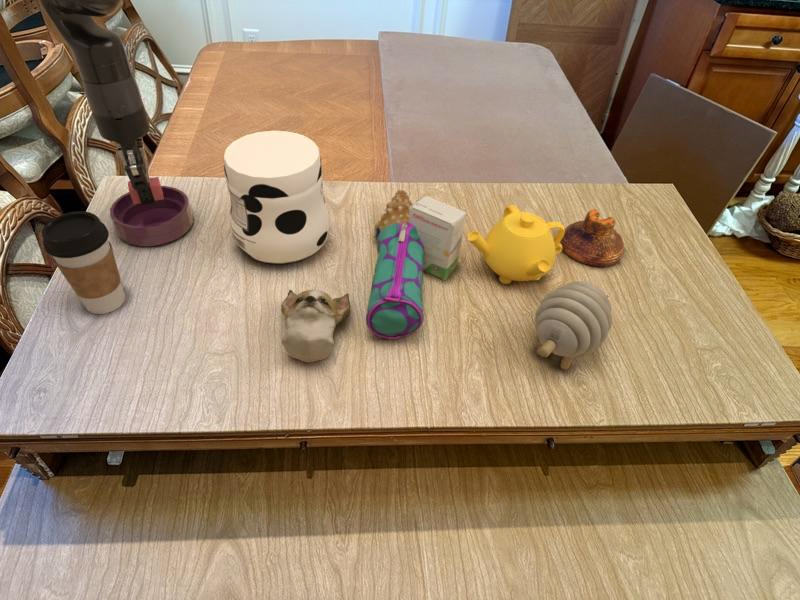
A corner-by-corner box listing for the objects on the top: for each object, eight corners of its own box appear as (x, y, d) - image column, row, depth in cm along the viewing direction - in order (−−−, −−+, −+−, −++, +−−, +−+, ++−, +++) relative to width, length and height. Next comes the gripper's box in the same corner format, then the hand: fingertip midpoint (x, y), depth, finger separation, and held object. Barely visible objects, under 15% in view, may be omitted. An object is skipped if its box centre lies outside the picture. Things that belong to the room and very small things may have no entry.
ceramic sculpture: (262, 328, 71) (283, 261, 82) (268, 372, 77) (287, 303, 88) (343, 333, 71) (352, 265, 83) (343, 376, 77) (352, 307, 88)
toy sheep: (612, 331, 86) (636, 280, 79) (572, 401, 76) (596, 350, 68) (551, 303, 90) (568, 251, 83) (505, 366, 80) (521, 314, 72)
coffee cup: (77, 326, 82) (35, 248, 71) (75, 290, 87) (36, 213, 76) (136, 311, 84) (104, 235, 74) (131, 278, 90) (101, 202, 79)
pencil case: (375, 256, 97) (376, 212, 90) (423, 259, 97) (428, 215, 90) (363, 343, 82) (364, 298, 75) (421, 347, 82) (427, 302, 75)
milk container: (341, 221, 104) (338, 134, 91) (315, 279, 92) (308, 189, 79) (255, 208, 106) (241, 121, 93) (218, 264, 93) (196, 173, 81)
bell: (546, 236, 104) (556, 204, 99) (596, 224, 108) (608, 193, 102) (583, 274, 96) (596, 242, 91) (636, 259, 100) (650, 227, 95)
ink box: (403, 262, 96) (407, 206, 88) (418, 247, 99) (423, 193, 91) (444, 281, 93) (453, 225, 85) (459, 265, 96) (468, 210, 88)
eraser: (133, 204, 94) (128, 189, 92) (132, 195, 96) (127, 181, 94) (163, 199, 96) (159, 185, 94) (162, 191, 98) (158, 176, 95)
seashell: (369, 237, 106) (376, 186, 103) (409, 242, 108) (416, 191, 105) (375, 246, 97) (383, 190, 95) (419, 251, 99) (427, 196, 96)
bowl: (119, 254, 94) (111, 234, 91) (116, 212, 102) (109, 192, 99) (198, 239, 98) (192, 219, 95) (189, 200, 106) (183, 180, 103)
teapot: (459, 273, 95) (468, 222, 87) (493, 235, 103) (504, 185, 95) (535, 308, 89) (552, 256, 82) (564, 265, 98) (582, 214, 90)
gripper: (90, 88, 87) (123, 180, 99) (90, 127, 78) (126, 224, 90) (139, 83, 89) (166, 174, 101) (145, 120, 80) (173, 216, 92)
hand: (147, 197), depth 96 cm, fingers closed on eraser, 2 cm apart
